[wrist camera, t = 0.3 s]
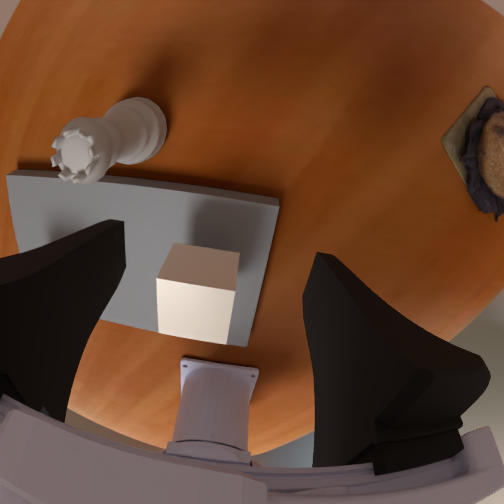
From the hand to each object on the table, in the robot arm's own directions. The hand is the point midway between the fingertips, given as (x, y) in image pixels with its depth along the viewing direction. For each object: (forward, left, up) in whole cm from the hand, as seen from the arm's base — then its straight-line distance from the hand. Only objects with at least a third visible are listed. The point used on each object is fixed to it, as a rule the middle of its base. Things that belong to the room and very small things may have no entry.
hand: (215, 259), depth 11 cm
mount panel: (-7, +8, -10) cm, 15 cm away
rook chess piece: (+3, +7, -10) cm, 13 cm away
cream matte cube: (-5, +1, -6) cm, 8 cm away
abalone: (+7, -20, -11) cm, 24 cm away
